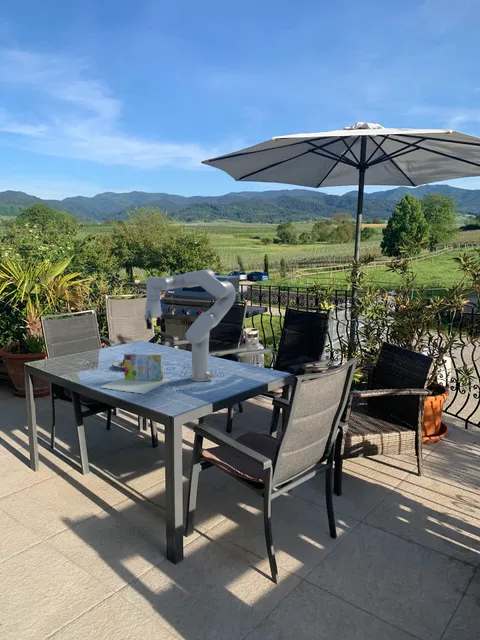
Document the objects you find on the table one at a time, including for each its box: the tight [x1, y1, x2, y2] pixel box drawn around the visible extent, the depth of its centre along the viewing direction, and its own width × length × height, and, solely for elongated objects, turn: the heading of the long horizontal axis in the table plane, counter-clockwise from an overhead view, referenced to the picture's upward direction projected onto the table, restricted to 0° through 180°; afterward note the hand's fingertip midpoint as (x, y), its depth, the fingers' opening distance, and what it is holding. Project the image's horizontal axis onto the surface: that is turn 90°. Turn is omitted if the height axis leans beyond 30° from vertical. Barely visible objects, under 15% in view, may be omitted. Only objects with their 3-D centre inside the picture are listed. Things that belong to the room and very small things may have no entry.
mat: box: [100, 375, 172, 395], centre depth 234 cm, size 28×27×1 cm
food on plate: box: [111, 358, 125, 369], centre depth 271 cm, size 25×25×7 cm
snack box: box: [123, 351, 164, 381], centre depth 240 cm, size 21×6×15 cm, turn 84°
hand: (154, 327), depth 248 cm, fingers open, 9 cm apart
